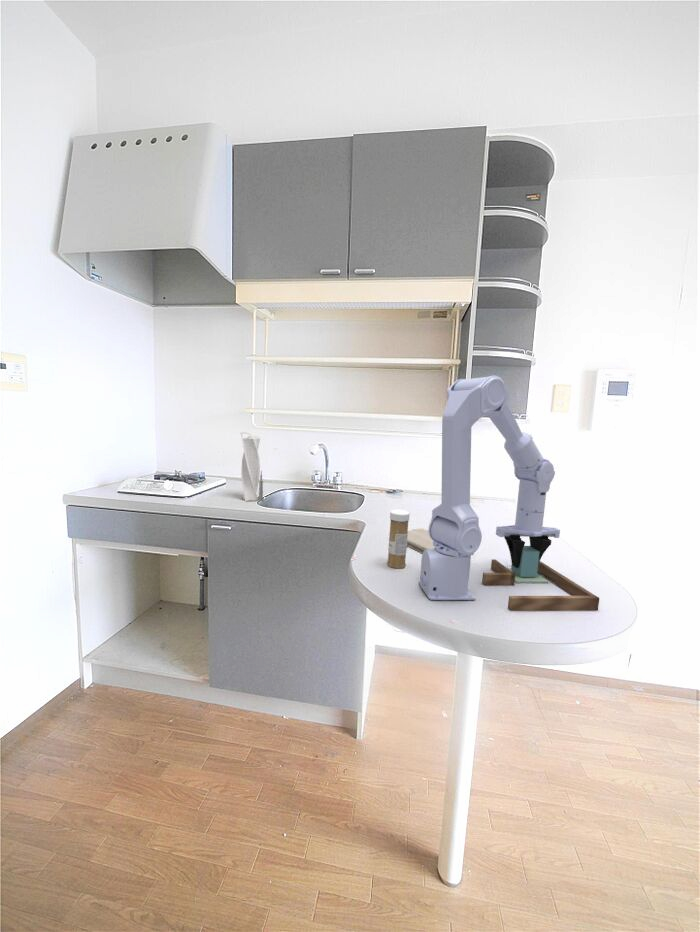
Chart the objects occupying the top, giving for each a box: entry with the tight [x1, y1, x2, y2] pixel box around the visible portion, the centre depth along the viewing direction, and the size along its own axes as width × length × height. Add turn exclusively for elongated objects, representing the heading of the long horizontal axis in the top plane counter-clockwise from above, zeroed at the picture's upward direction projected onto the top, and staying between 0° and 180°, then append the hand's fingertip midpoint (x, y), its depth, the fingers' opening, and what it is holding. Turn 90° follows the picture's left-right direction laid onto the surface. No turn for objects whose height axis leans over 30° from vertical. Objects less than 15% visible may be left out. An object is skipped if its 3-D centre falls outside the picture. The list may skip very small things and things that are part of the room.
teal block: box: [510, 545, 539, 577], centre depth 88 cm, size 4×4×6 cm
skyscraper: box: [240, 431, 265, 503], centre depth 154 cm, size 8×8×28 cm
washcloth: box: [407, 528, 435, 555], centre depth 108 cm, size 12×18×3 cm, turn 33°
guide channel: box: [481, 559, 600, 612], centre depth 82 cm, size 18×20×2 cm
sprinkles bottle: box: [386, 509, 410, 569], centre depth 90 cm, size 5×5×13 cm
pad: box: [506, 567, 550, 584], centre depth 88 cm, size 8×8×1 cm
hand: (524, 566), depth 88 cm, fingers closed on teal block, 4 cm apart
